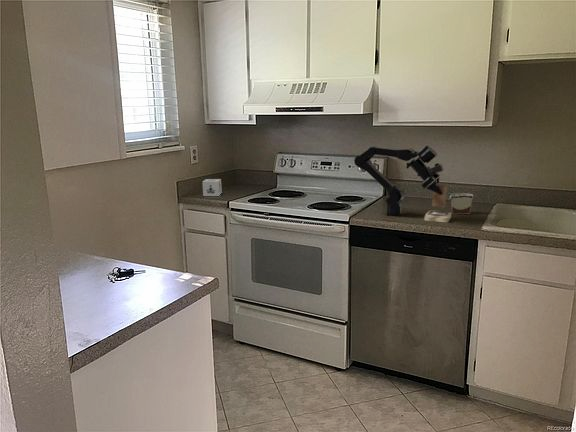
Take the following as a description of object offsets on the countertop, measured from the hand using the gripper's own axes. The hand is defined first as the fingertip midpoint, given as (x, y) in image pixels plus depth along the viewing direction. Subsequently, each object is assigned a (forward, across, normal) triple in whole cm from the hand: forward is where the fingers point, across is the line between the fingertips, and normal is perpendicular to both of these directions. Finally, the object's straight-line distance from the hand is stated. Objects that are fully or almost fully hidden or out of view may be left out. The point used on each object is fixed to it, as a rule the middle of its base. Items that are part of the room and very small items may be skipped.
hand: (442, 193), depth 232 cm
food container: (+14, +19, +5) cm, 24 cm away
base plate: (+8, 0, +10) cm, 13 cm away
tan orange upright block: (+4, 0, +6) cm, 7 cm away
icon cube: (-90, +10, +113) cm, 145 cm away
